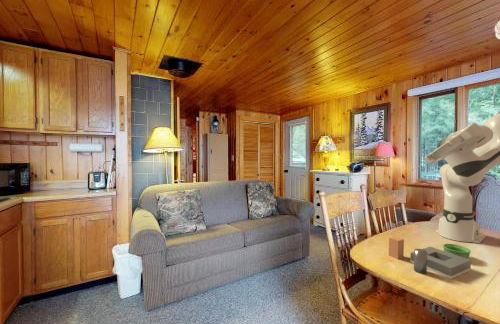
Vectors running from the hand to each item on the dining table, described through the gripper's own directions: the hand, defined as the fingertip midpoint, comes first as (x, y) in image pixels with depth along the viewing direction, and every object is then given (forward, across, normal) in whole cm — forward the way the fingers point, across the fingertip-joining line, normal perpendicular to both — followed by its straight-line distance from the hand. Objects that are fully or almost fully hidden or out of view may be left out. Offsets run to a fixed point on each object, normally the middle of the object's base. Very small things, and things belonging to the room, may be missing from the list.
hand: (438, 151), depth 88 cm
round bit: (+17, -26, +34) cm, 46 cm away
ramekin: (-8, -32, +38) cm, 51 cm away
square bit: (+14, -37, +28) cm, 48 cm away
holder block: (+6, -28, +36) cm, 46 cm away
